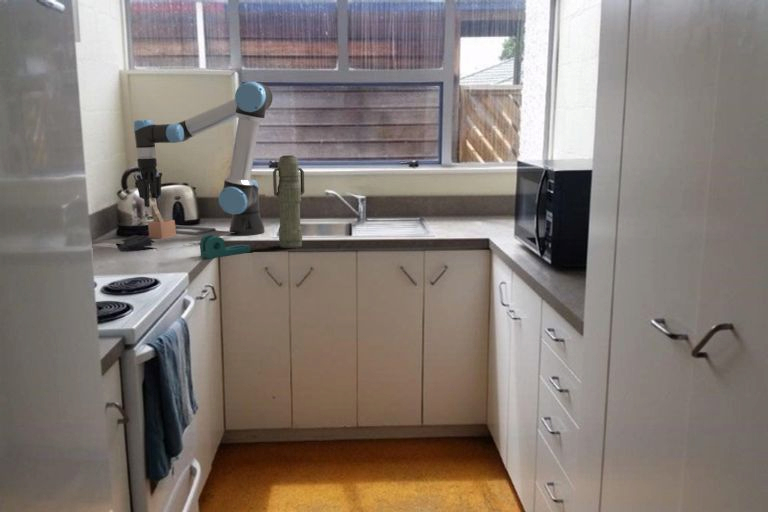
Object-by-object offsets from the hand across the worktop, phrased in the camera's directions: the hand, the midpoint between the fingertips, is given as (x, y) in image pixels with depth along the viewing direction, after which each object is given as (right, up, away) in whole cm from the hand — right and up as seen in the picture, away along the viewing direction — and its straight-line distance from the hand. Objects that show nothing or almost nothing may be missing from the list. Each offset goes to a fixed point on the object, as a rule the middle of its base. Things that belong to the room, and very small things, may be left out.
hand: (152, 213), depth 292 cm
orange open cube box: (+5, -11, -1) cm, 12 cm away
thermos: (+62, -14, -22) cm, 67 cm away
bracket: (+40, -17, -34) cm, 55 cm away
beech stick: (+3, -9, 0) cm, 9 cm away
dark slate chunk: (-1, -15, -14) cm, 20 cm away
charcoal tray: (+10, -8, +12) cm, 18 cm away
